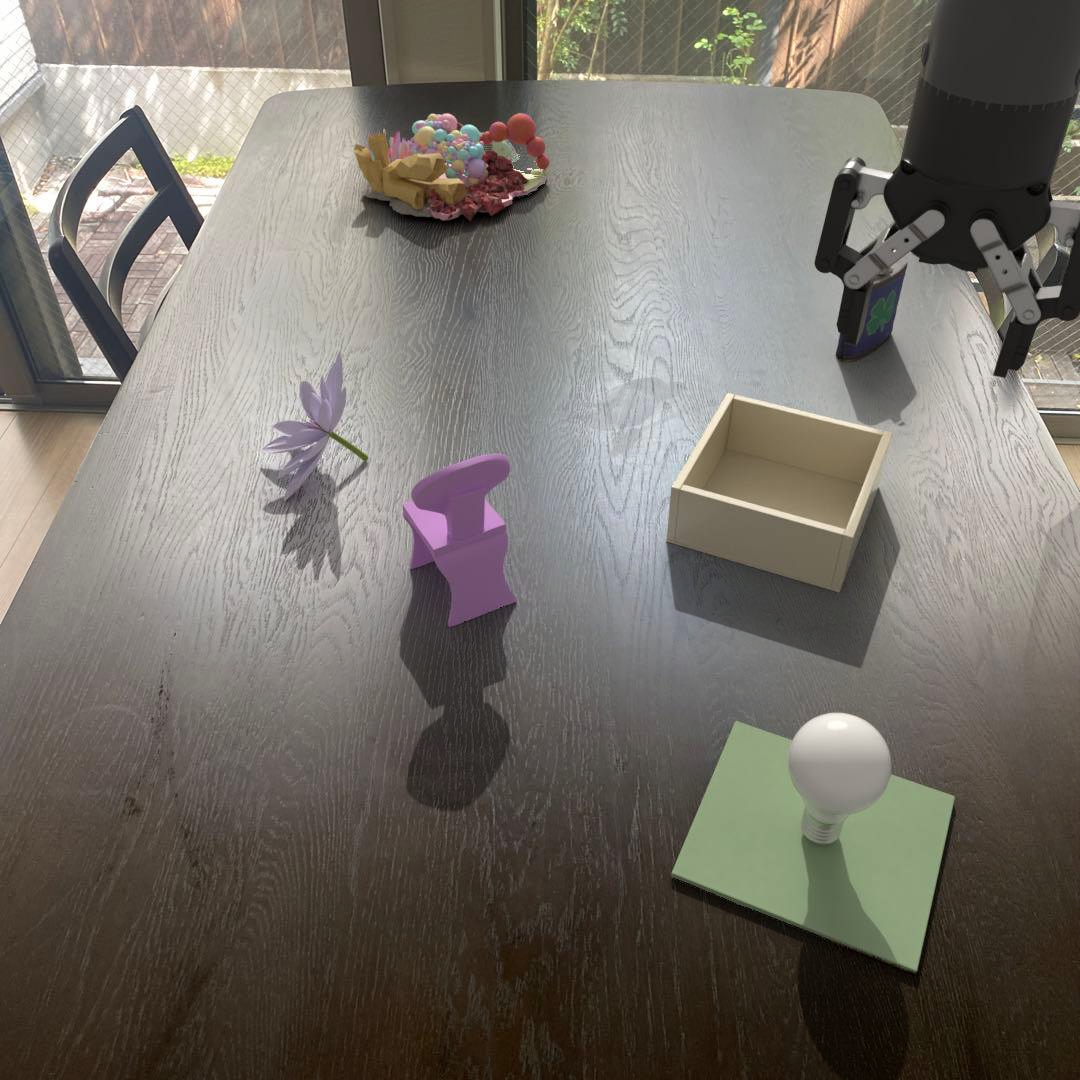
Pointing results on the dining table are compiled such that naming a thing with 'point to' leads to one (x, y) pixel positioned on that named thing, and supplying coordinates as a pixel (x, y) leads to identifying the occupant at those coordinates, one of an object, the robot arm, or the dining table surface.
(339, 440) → the water lily
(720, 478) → the open wooden box
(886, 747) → the lightbulb
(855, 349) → the flask
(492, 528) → the toy chair
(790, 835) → the mat
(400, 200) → the candy landscape model
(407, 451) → the dining table surface
